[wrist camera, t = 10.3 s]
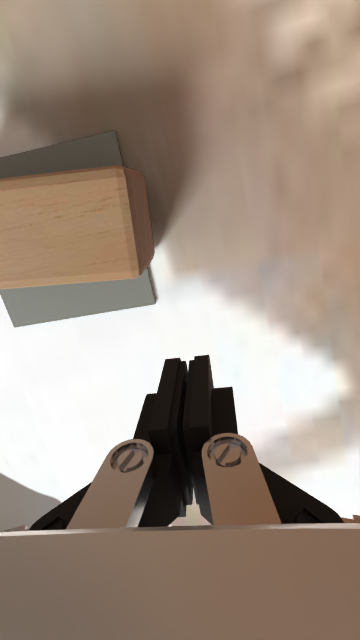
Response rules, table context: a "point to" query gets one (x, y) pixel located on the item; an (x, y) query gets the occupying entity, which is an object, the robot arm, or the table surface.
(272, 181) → the table surface
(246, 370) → the table surface
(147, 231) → the wooden block
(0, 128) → the table surface
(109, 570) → the robot arm
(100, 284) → the mat
